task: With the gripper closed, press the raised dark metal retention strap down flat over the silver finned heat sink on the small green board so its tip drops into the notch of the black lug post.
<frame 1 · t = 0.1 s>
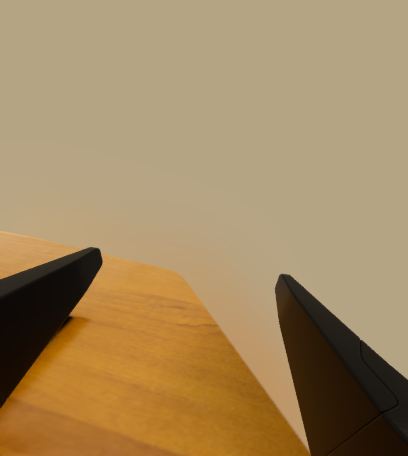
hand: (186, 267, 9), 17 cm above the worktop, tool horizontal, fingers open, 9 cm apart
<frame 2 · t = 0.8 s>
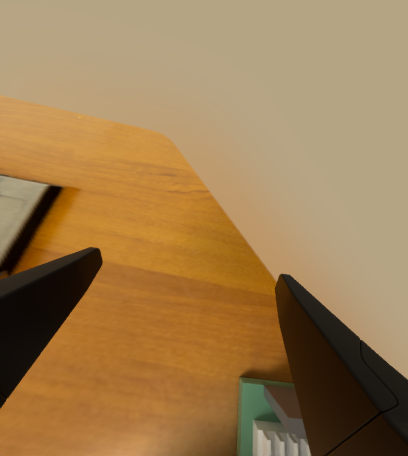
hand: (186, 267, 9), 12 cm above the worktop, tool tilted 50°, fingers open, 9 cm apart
board: (276, 451, 16), on the worktop
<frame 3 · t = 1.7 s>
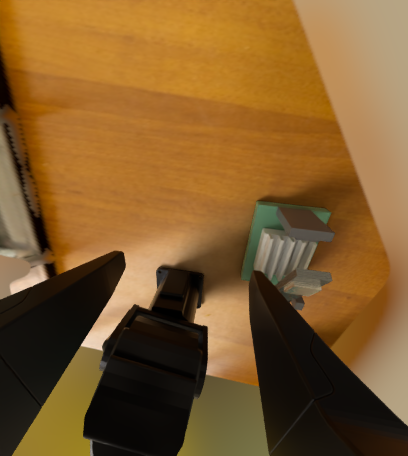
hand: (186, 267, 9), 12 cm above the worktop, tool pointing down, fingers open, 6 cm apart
board: (278, 244, 21), on the worktop
strap: (290, 289, 16), point 6 cm above the worktop, hinge at 30.0°
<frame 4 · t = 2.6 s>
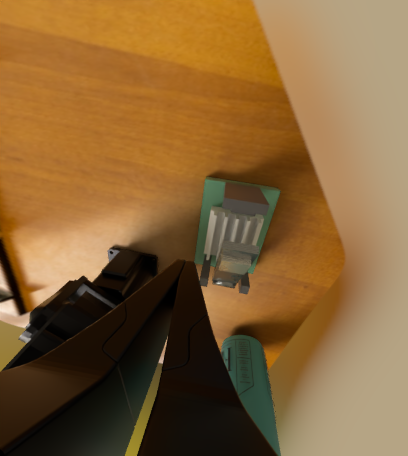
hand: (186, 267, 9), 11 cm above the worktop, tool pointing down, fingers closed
board: (231, 226, 20), on the worktop
beverage bottle: (241, 336, 29), on the worktop
strap: (229, 268, 15), point 6 cm above the worktop, hinge at 30.0°
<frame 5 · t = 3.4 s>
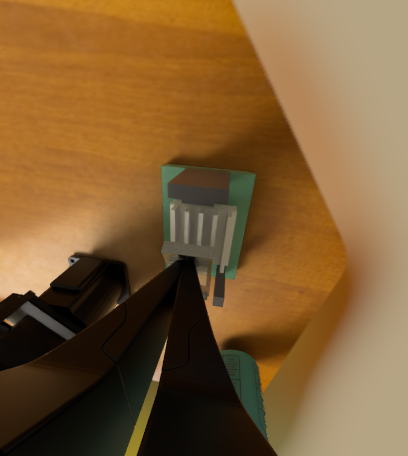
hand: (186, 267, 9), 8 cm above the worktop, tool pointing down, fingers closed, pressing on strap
board: (204, 224, 17), on the worktop
beverage bottle: (233, 349, 25), on the worktop
strap: (192, 277, 12), point 6 cm above the worktop, hinge at 29.9°, touching gripper
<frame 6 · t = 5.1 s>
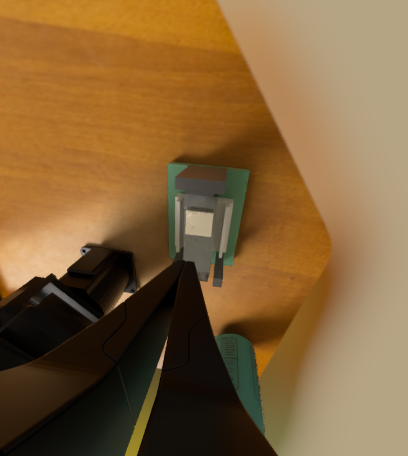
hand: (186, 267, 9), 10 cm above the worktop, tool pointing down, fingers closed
board: (204, 215, 19), on the worktop
beverage bottle: (231, 335, 27), on the worktop
strap: (198, 241, 15), point 4 cm above the worktop, hinge at 0.8°
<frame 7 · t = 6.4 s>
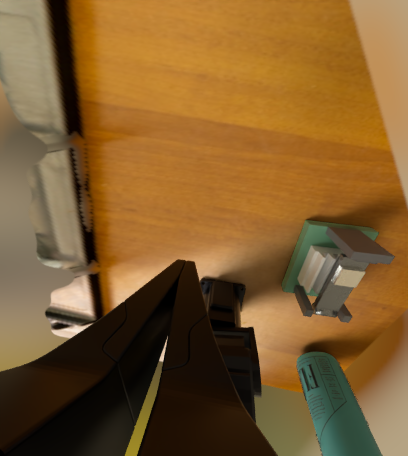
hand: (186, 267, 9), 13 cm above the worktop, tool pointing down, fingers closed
board: (321, 259, 23), on the worktop
beverage bottle: (312, 351, 31), on the worktop
strap: (337, 288, 19), point 4 cm above the worktop, hinge at 0.6°
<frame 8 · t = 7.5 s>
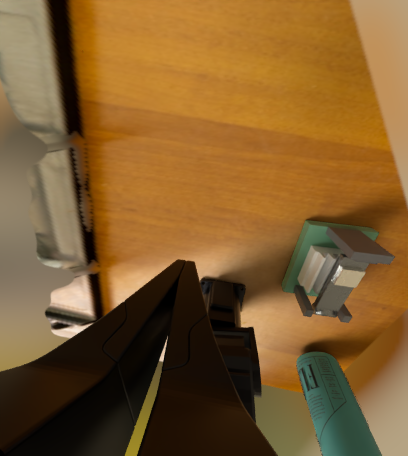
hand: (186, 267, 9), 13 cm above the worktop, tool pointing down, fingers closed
board: (321, 259, 23), on the worktop
beverage bottle: (312, 351, 31), on the worktop
strap: (337, 288, 19), point 4 cm above the worktop, hinge at 0.6°
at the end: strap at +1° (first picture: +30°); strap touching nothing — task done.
